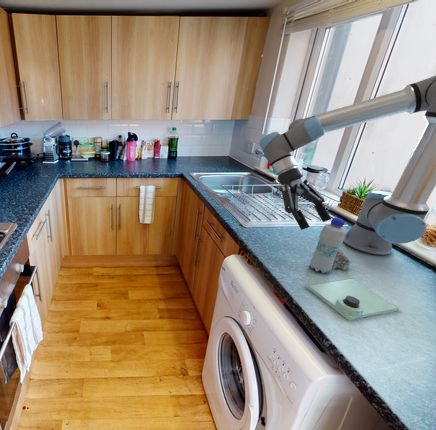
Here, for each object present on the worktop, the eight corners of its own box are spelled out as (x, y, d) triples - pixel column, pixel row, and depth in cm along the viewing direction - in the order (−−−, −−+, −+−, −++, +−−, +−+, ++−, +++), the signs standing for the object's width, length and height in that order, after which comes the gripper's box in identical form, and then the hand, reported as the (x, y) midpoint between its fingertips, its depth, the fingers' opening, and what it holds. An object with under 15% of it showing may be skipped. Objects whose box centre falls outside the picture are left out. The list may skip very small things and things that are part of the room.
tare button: (349, 299, 84) (351, 295, 83) (360, 307, 81) (362, 302, 80) (340, 301, 83) (343, 296, 82) (351, 309, 80) (353, 304, 79)
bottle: (333, 270, 101) (354, 220, 93) (326, 277, 98) (347, 225, 89) (312, 261, 106) (330, 212, 98) (304, 268, 102) (323, 217, 94)
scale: (351, 281, 96) (355, 274, 95) (397, 311, 83) (402, 303, 82) (307, 288, 92) (310, 281, 91) (348, 320, 80) (352, 312, 78)
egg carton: (314, 253, 112) (318, 244, 110) (336, 255, 110) (340, 246, 109) (326, 268, 102) (330, 258, 101) (350, 271, 101) (354, 261, 99)
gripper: (297, 172, 114) (325, 221, 108) (257, 181, 103) (285, 235, 97) (315, 162, 108) (346, 213, 102) (274, 170, 96) (306, 228, 91)
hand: (316, 224), depth 100 cm, fingers open, 13 cm apart
